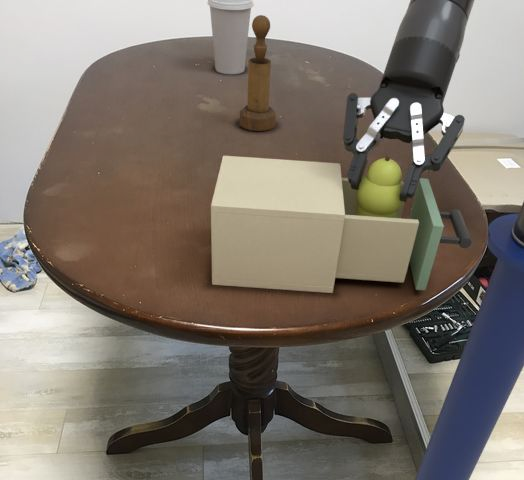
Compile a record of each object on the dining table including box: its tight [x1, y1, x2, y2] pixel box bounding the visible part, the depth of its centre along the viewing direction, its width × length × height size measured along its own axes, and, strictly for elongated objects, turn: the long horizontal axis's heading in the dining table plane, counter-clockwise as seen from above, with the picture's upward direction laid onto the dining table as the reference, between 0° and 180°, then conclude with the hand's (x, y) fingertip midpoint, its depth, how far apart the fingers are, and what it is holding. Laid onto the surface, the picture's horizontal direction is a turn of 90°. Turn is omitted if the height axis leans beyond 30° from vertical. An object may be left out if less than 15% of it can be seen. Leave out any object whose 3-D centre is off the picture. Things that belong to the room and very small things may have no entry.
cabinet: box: [210, 155, 345, 294], centre depth 73 cm, size 15×13×11 cm
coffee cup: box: [207, 0, 254, 75], centre depth 126 cm, size 10×10×15 cm
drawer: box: [335, 177, 473, 291], centre depth 73 cm, size 18×12×9 cm, turn 87°
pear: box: [356, 154, 404, 218], centre depth 69 cm, size 6×6×8 cm
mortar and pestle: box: [239, 15, 277, 132], centre depth 103 cm, size 7×6×18 cm
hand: (378, 192), depth 68 cm, fingers closed on pear, 5 cm apart
